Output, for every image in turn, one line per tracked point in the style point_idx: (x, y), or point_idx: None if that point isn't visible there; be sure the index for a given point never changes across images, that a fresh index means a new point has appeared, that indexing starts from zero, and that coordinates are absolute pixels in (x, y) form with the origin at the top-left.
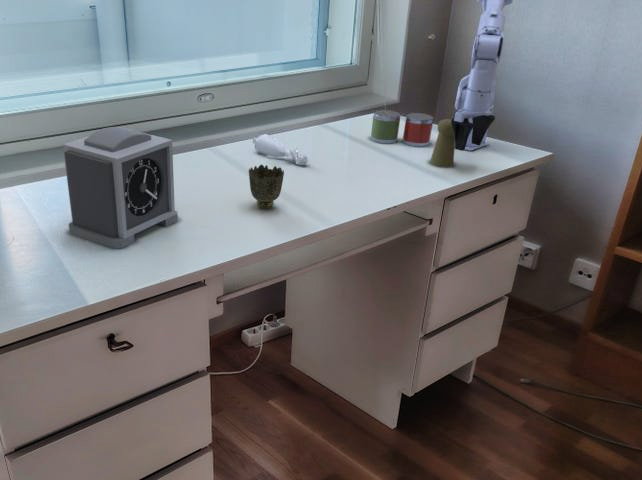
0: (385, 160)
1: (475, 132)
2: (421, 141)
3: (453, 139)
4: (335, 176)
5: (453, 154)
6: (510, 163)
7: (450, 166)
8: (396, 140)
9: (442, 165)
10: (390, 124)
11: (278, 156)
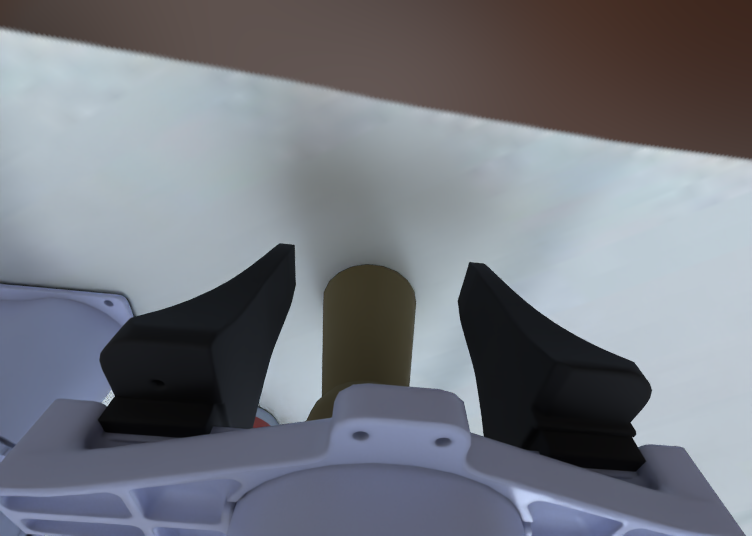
0: (475, 412)
1: (275, 325)
2: (254, 422)
3: (369, 360)
4: (707, 429)
5: (360, 299)
6: (58, 78)
7: (382, 266)
8: None
9: (410, 288)
10: None
11: None
